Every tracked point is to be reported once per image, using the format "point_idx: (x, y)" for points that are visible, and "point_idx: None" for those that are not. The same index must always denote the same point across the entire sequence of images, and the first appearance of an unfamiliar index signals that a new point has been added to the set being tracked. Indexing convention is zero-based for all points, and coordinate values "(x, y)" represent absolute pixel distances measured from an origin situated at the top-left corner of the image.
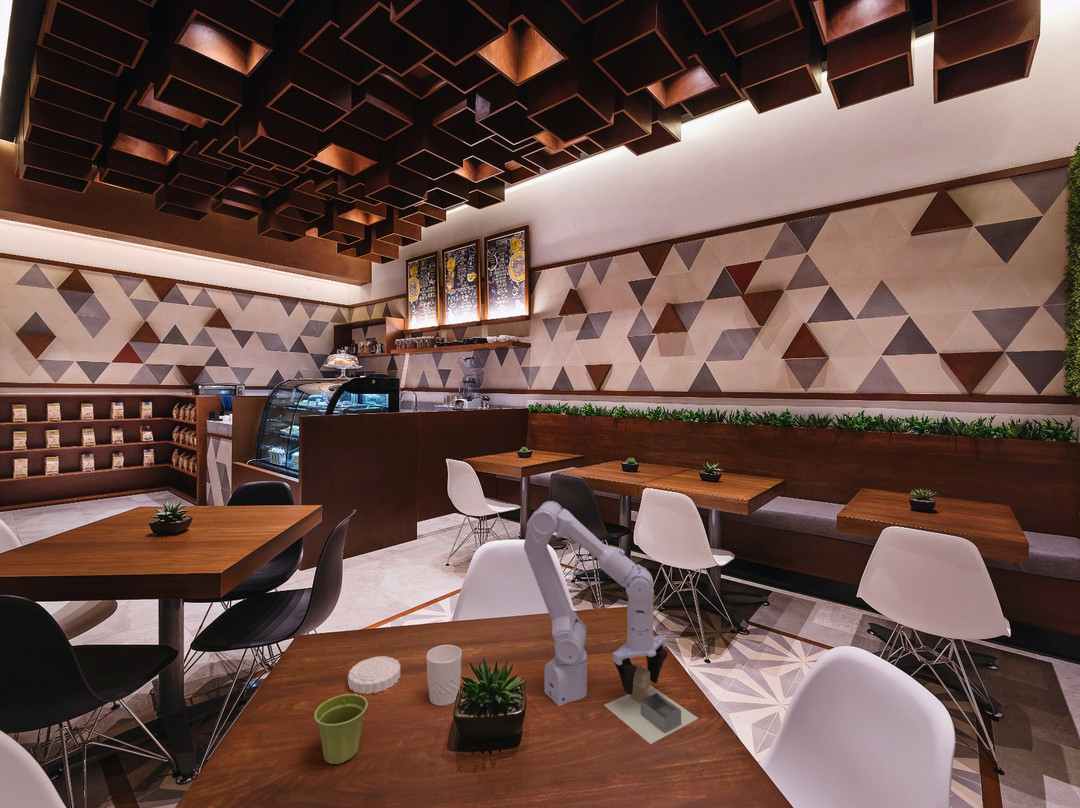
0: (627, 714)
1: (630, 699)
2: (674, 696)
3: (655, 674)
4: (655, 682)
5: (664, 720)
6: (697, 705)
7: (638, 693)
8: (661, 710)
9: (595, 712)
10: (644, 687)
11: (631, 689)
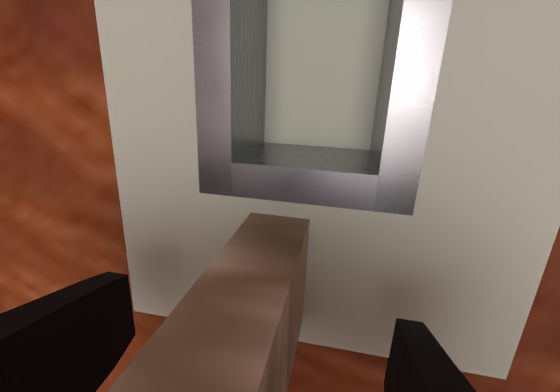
0: (469, 233)
1: (322, 307)
2: (76, 181)
3: (62, 323)
4: (120, 277)
5: None
6: (11, 48)
7: (298, 295)
8: (260, 96)
9: (555, 372)
10: (273, 289)
11: (435, 352)
